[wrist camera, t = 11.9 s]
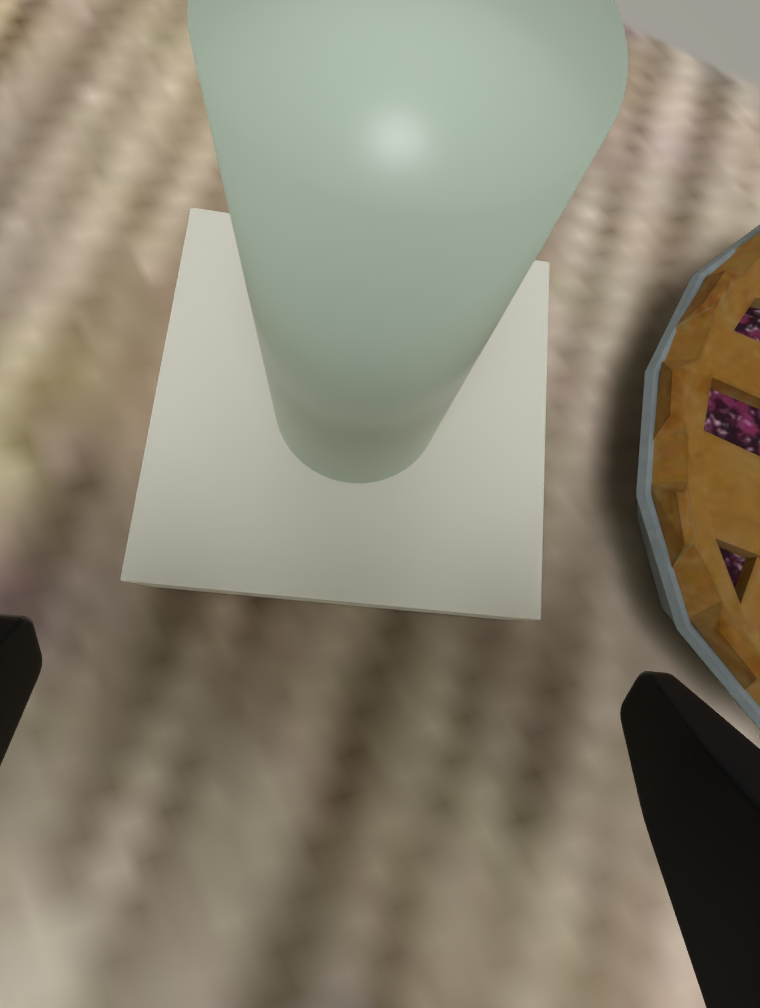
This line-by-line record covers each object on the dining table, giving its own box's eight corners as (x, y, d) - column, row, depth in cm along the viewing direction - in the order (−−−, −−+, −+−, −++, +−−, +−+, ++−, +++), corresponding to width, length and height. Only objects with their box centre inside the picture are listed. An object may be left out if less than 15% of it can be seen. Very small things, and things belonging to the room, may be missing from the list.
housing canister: (383, 514, 16) (501, 298, 6) (241, 425, 16) (87, 47, 6) (465, 385, 17) (693, -1, 7) (332, 302, 18) (347, -202, 7)
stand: (506, 619, 19) (540, 620, 16) (152, 586, 18) (120, 580, 15) (518, 310, 22) (549, 262, 19) (209, 266, 21) (190, 207, 18)
